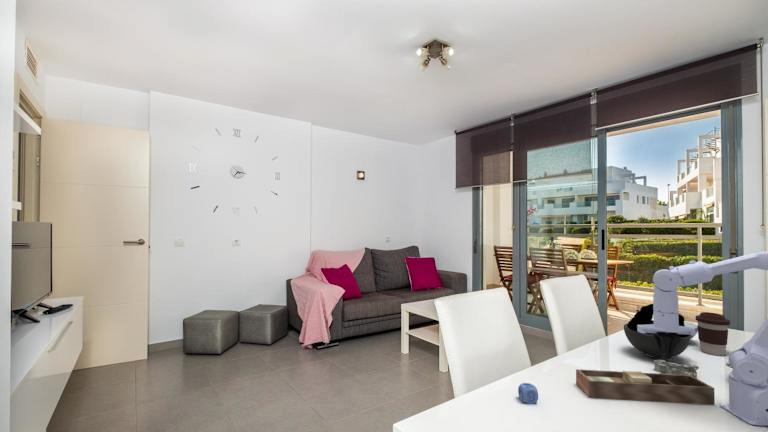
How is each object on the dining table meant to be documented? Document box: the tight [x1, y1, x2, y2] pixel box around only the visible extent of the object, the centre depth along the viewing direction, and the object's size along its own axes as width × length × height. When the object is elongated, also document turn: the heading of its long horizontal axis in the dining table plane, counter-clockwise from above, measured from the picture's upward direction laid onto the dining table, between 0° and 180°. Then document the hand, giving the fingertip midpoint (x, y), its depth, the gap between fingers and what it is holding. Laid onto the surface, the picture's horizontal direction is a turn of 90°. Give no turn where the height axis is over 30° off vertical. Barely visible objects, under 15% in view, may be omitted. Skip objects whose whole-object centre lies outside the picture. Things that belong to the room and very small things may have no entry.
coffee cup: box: [695, 311, 731, 356], centre depth 139 cm, size 10×10×15 cm
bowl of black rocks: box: [623, 303, 692, 359], centre depth 134 cm, size 20×20×19 cm
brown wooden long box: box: [575, 368, 715, 406], centre depth 103 cm, size 32×9×4 cm, turn 85°
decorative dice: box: [517, 382, 539, 405], centre depth 98 cm, size 4×4×4 cm
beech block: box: [622, 370, 652, 384], centre depth 103 cm, size 5×5×2 cm
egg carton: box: [653, 358, 699, 379], centre depth 118 cm, size 11×8×4 cm
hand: (666, 358), depth 102 cm, fingers closed
